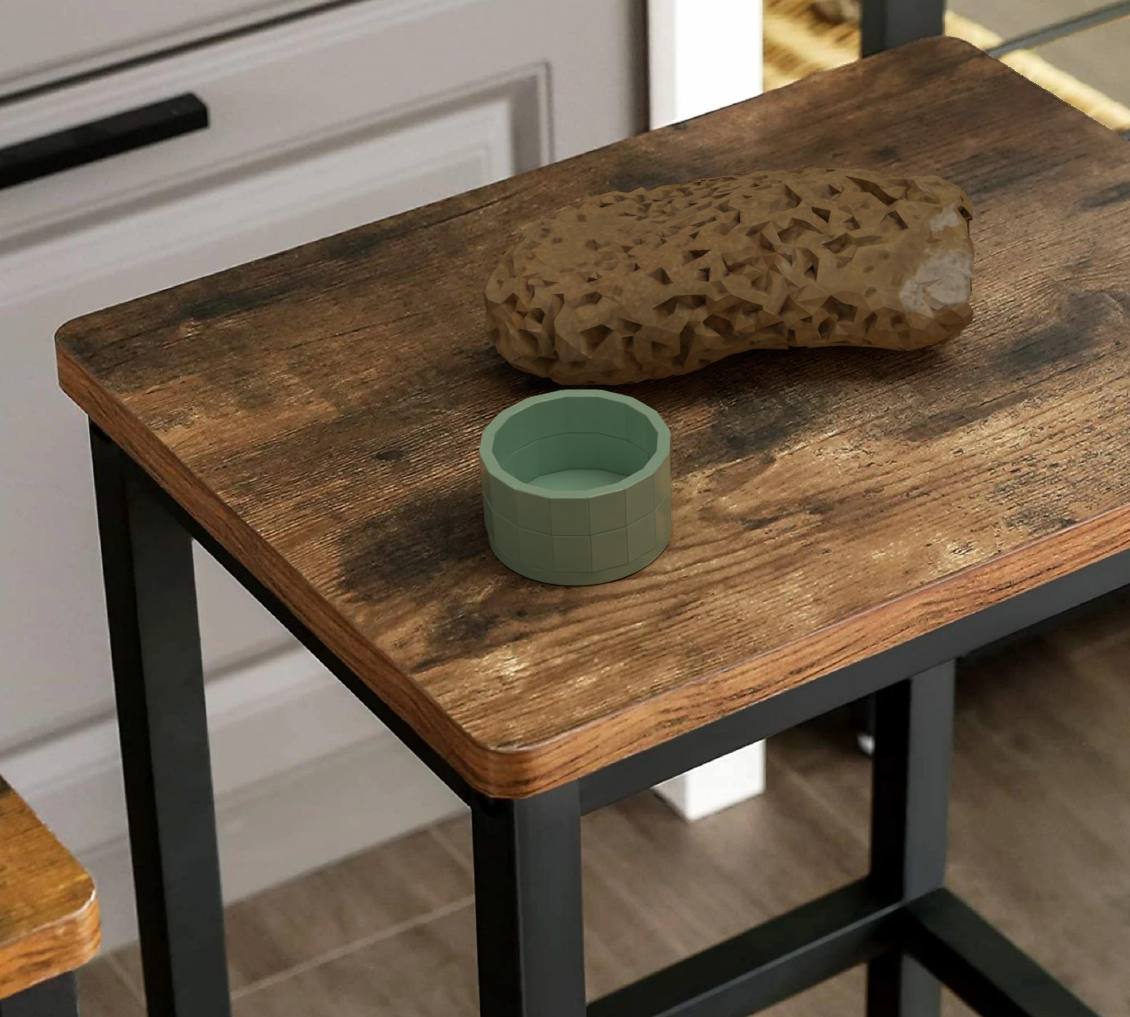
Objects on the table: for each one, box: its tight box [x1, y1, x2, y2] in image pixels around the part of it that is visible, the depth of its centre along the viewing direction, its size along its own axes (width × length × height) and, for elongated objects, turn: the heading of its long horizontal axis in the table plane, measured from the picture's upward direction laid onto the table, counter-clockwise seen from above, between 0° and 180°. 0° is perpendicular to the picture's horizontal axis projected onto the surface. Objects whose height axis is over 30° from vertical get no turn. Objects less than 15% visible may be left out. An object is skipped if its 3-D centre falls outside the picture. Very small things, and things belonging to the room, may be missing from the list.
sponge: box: [482, 166, 976, 386], centre depth 90 cm, size 13×8×20 cm
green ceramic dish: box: [478, 389, 674, 587], centre depth 80 cm, size 7×7×4 cm
